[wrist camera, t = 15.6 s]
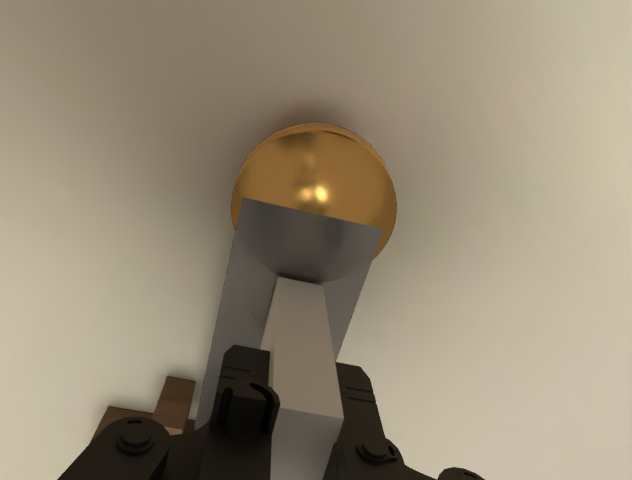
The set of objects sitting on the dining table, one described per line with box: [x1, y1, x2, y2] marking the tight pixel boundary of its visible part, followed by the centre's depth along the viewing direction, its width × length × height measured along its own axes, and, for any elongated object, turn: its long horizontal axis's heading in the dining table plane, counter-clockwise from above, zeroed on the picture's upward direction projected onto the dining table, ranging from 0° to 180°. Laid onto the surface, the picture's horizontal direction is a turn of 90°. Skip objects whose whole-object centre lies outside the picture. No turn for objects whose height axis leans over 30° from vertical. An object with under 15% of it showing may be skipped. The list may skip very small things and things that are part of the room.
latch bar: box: [194, 123, 397, 431], centre depth 18 cm, size 14×5×1 cm, turn 166°
